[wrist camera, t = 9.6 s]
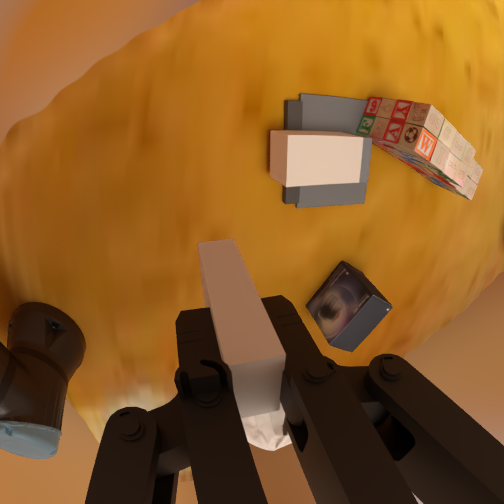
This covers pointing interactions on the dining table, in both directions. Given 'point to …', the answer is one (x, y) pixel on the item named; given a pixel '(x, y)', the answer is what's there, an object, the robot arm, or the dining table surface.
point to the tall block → (318, 157)
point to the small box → (347, 307)
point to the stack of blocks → (422, 142)
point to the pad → (324, 119)
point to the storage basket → (266, 430)
